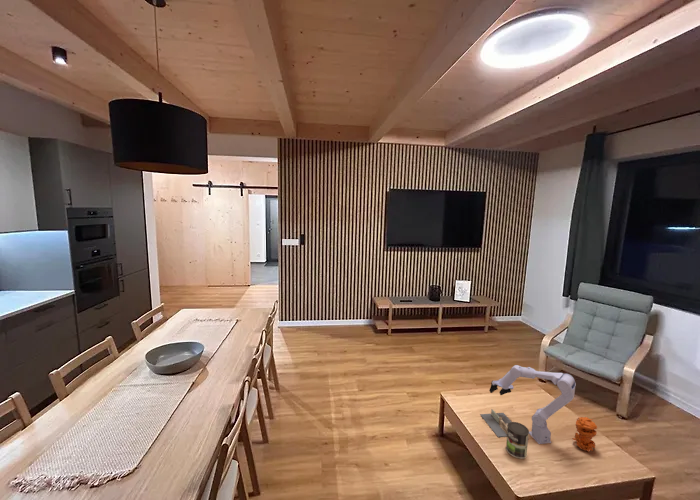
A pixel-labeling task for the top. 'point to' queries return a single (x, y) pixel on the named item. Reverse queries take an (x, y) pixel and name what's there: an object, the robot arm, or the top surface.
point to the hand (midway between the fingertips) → (495, 392)
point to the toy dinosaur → (585, 433)
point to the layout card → (496, 423)
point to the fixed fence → (503, 424)
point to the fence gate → (495, 415)
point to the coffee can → (517, 440)
